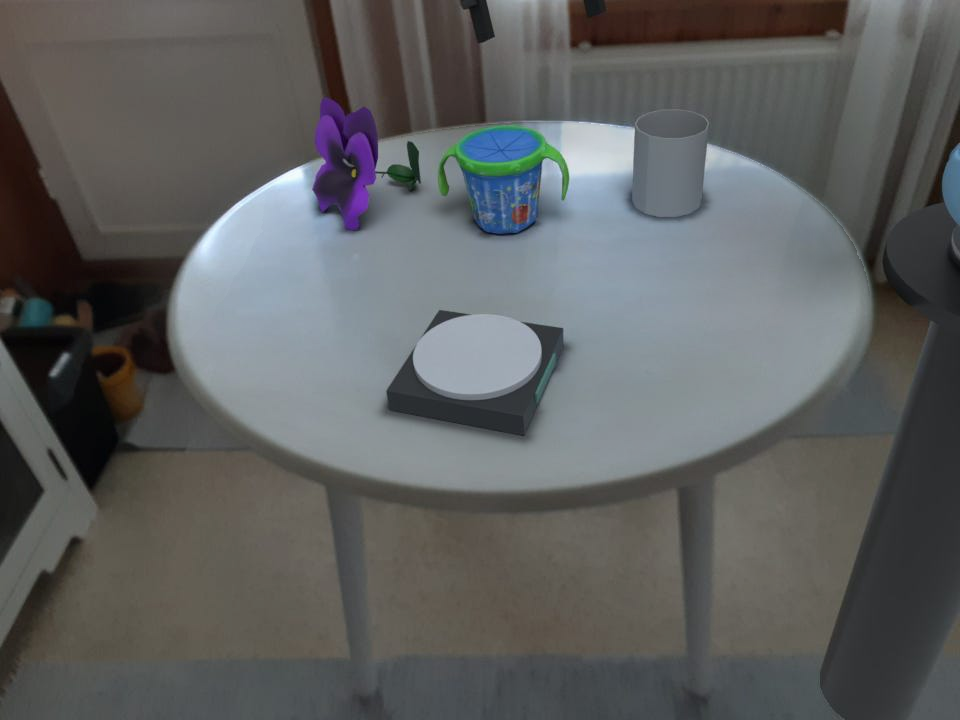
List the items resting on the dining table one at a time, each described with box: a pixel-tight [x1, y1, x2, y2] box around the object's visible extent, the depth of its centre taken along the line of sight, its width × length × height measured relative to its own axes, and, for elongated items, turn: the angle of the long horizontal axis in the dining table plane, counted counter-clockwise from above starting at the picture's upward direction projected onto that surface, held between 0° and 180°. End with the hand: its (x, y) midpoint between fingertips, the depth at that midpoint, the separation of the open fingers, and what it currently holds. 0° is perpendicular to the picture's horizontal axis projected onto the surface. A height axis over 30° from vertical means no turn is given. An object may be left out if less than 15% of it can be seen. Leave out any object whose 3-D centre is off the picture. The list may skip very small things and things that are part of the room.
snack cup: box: [437, 125, 570, 235], centre depth 100 cm, size 16×10×10 cm
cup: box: [631, 108, 710, 218], centre depth 101 cm, size 8×8×10 cm
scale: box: [385, 309, 565, 436], centre depth 79 cm, size 13×13×3 cm
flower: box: [311, 96, 422, 231], centre depth 107 cm, size 15×15×14 cm
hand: (543, 27), depth 89 cm, fingers open, 13 cm apart
